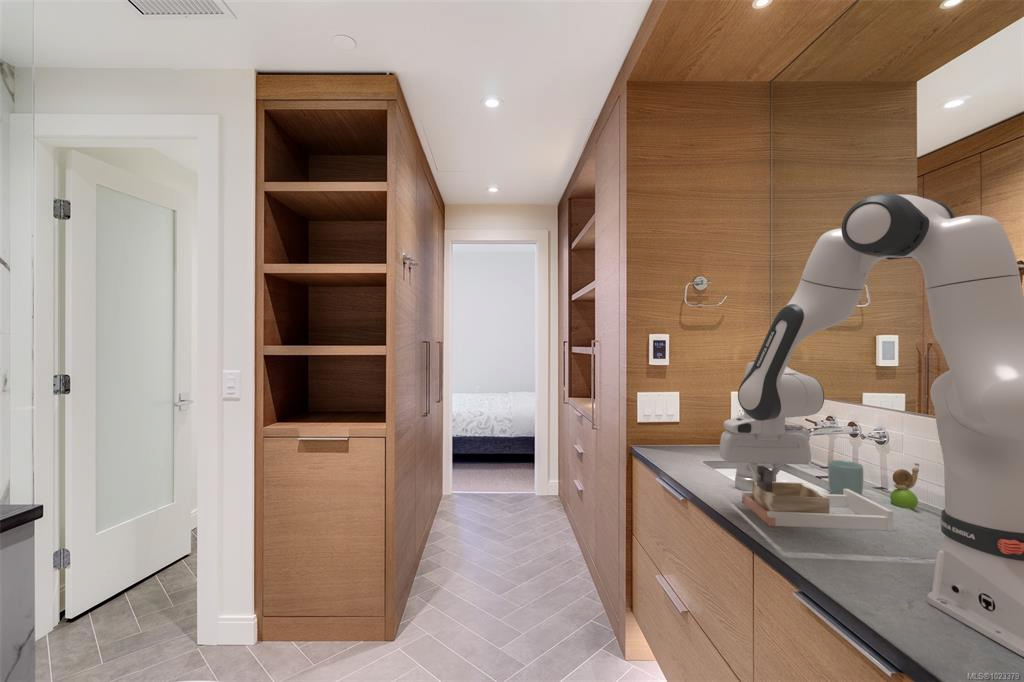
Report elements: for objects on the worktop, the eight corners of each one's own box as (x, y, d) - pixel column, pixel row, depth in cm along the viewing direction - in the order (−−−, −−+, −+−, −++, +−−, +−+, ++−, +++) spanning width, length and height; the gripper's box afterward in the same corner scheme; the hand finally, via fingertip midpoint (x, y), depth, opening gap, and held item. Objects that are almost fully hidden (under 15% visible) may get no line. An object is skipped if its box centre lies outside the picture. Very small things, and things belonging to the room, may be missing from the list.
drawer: (829, 524, 104) (829, 476, 104) (772, 522, 106) (772, 475, 106) (801, 506, 116) (801, 463, 116) (751, 504, 117) (751, 461, 118)
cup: (863, 507, 119) (863, 469, 119) (827, 501, 124) (827, 464, 124) (863, 499, 125) (863, 463, 125) (829, 493, 130) (828, 458, 130)
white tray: (893, 536, 101) (893, 511, 101) (769, 531, 104) (769, 506, 104) (848, 510, 117) (848, 488, 117) (742, 506, 120) (742, 485, 120)
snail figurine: (928, 513, 114) (927, 466, 114) (901, 513, 115) (901, 465, 115) (909, 506, 120) (909, 460, 120) (884, 506, 120) (884, 460, 120)
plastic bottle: (764, 496, 127) (764, 425, 127) (738, 495, 128) (737, 424, 129) (756, 489, 133) (756, 421, 134) (731, 488, 135) (731, 420, 135)
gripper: (802, 423, 114) (802, 478, 114) (717, 421, 116) (717, 476, 116) (816, 427, 107) (816, 486, 107) (726, 425, 110) (726, 483, 109)
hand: (764, 481), depth 111 cm, fingers closed
